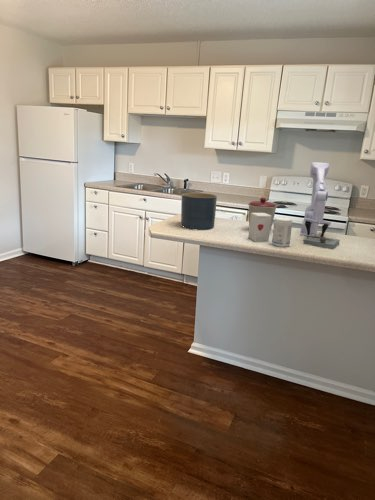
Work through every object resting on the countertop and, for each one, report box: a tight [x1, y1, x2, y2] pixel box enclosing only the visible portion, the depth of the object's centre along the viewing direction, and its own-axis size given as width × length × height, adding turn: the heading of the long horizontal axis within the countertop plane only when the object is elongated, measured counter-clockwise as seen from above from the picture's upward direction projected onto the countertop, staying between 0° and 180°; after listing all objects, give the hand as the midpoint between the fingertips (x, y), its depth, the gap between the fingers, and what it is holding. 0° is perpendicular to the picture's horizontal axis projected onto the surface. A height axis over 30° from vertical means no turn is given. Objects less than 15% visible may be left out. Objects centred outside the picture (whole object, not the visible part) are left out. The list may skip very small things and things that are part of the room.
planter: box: [180, 192, 218, 231], centre depth 236 cm, size 22×22×20 cm
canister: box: [247, 197, 278, 230], centre depth 232 cm, size 18×18×21 cm
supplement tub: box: [271, 216, 293, 248], centre depth 201 cm, size 10×10×15 cm
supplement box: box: [247, 213, 271, 242], centre depth 210 cm, size 9×9×15 cm
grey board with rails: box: [302, 235, 341, 250], centre depth 209 cm, size 16×15×3 cm
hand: (315, 235), depth 210 cm, fingers open, 7 cm apart
